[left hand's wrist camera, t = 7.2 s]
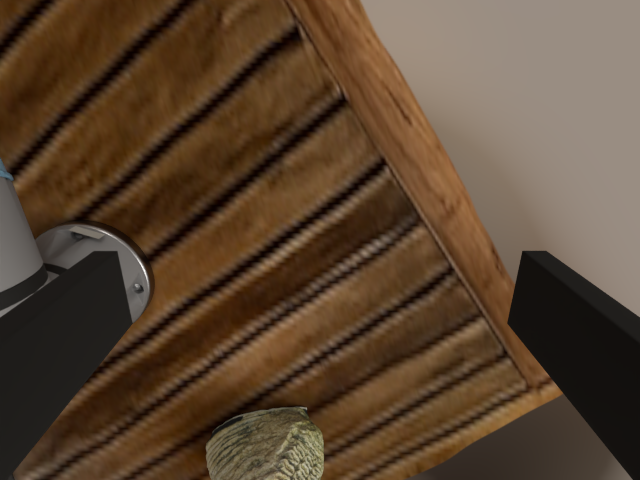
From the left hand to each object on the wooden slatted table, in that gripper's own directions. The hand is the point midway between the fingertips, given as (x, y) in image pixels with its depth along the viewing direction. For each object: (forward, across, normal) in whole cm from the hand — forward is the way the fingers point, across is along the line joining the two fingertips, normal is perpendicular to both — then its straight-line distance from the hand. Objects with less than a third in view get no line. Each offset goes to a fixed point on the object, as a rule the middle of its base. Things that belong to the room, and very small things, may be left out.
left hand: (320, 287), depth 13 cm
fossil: (+34, +8, +42) cm, 55 cm away
